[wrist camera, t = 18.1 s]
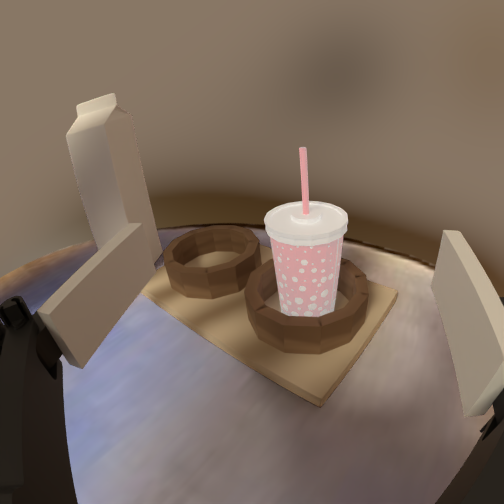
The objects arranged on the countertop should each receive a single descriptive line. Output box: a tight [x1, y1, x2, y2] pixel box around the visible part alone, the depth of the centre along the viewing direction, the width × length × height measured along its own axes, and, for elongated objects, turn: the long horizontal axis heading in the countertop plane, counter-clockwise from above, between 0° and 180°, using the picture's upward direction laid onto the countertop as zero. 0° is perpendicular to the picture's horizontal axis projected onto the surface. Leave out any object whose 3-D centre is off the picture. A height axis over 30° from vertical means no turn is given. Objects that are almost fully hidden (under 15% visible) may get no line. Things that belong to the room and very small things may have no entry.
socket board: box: [141, 225, 398, 408], centre depth 30 cm, size 24×14×4 cm, turn 48°
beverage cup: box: [264, 147, 348, 317], centre depth 23 cm, size 6×6×14 cm
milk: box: [66, 93, 163, 263], centre depth 34 cm, size 6×6×22 cm
